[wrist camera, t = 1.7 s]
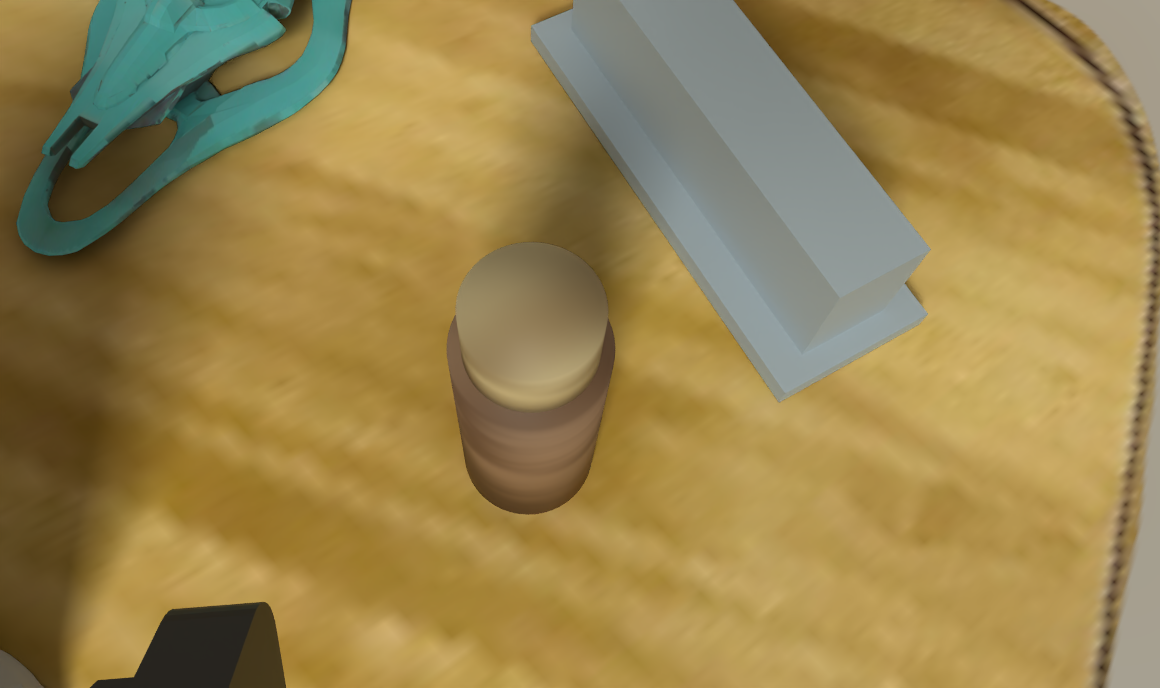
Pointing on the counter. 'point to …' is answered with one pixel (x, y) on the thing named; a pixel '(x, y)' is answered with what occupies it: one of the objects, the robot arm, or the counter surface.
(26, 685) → the grey moai statue
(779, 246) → the rail
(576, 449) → the pepper mill
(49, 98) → the counter surface
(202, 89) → the toy spaceship
